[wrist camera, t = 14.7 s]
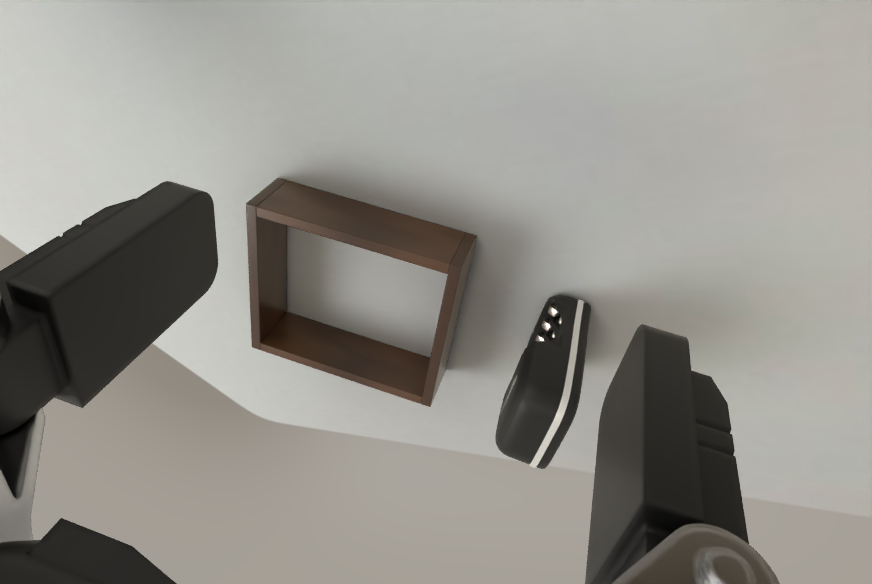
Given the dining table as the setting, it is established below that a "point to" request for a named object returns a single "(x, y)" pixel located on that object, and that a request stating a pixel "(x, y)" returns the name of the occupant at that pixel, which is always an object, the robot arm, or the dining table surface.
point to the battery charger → (545, 384)
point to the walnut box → (366, 231)
